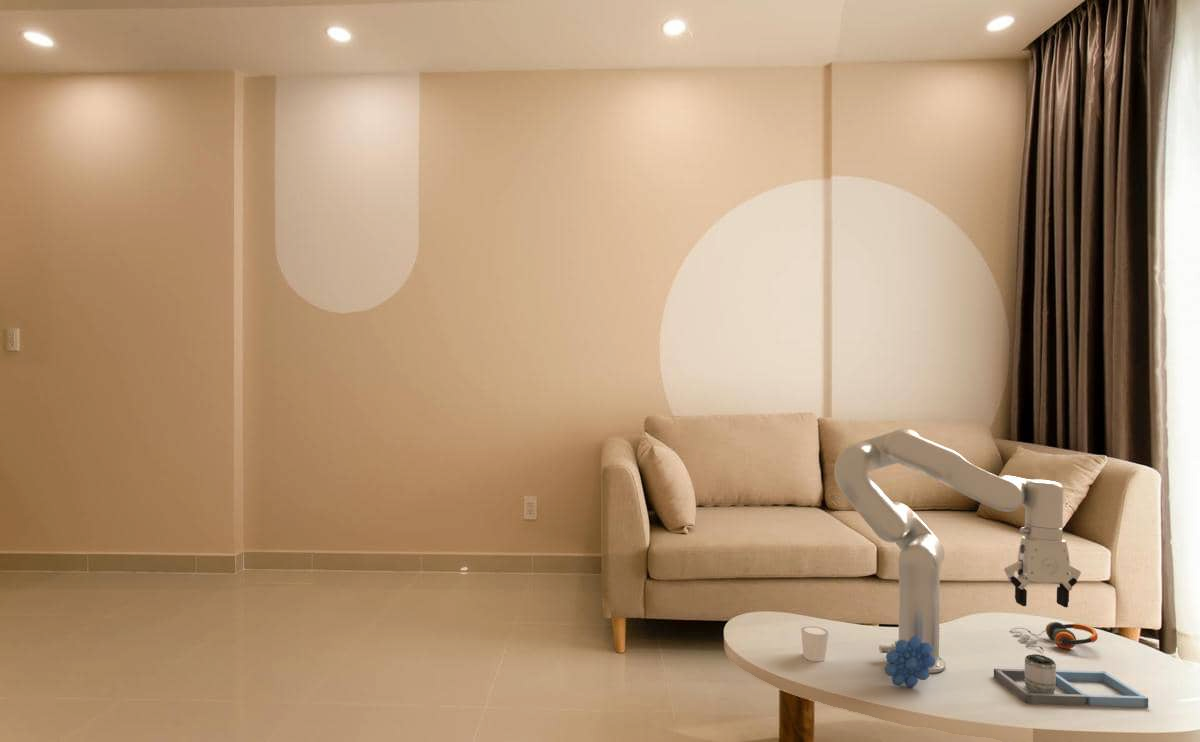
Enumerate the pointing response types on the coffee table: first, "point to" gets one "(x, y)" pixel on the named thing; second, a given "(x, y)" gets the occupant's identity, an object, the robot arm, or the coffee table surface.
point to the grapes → (909, 662)
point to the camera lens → (1040, 674)
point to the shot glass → (814, 643)
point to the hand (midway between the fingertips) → (1041, 604)
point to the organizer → (1073, 689)
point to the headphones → (1061, 635)
